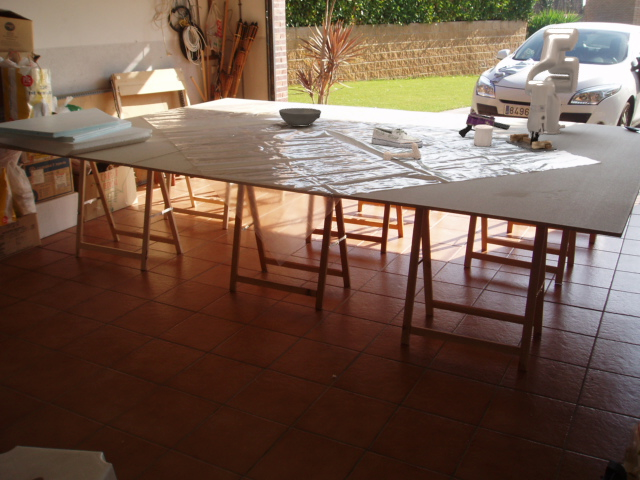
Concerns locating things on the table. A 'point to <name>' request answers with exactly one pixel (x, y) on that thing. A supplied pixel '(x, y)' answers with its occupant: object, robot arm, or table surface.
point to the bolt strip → (528, 146)
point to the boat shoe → (394, 138)
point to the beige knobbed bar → (415, 153)
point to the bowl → (299, 115)
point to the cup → (483, 135)
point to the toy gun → (481, 123)
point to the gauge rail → (525, 139)
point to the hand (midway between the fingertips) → (533, 144)
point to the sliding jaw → (540, 144)
